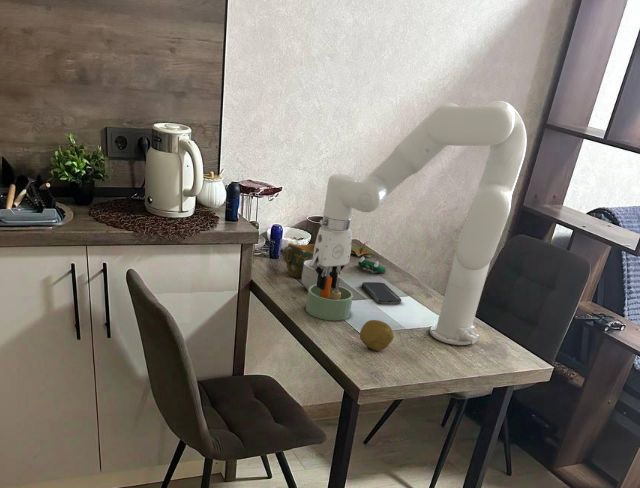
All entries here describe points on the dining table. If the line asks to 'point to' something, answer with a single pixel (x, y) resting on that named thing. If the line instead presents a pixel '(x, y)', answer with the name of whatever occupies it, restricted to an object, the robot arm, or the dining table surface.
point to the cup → (297, 257)
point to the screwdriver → (327, 286)
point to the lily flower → (362, 250)
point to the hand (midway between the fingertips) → (326, 287)
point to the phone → (381, 293)
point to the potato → (376, 334)
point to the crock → (329, 304)
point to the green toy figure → (371, 266)
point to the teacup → (310, 274)
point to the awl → (336, 292)
